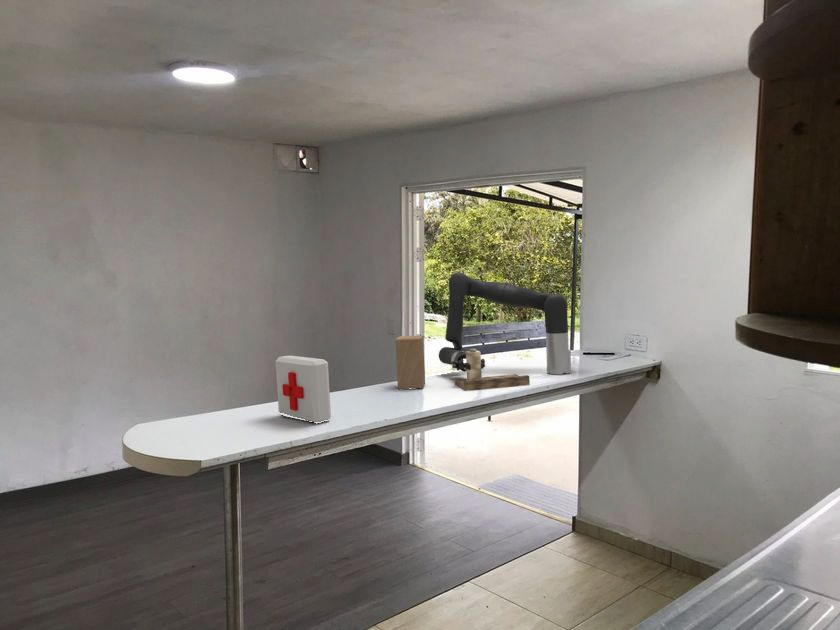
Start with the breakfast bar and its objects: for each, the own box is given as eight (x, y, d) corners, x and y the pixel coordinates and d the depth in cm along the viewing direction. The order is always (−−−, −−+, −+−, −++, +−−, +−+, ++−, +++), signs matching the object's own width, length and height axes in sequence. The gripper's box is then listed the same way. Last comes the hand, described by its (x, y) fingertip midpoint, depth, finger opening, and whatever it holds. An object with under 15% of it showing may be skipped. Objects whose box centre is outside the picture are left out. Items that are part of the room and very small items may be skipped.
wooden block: (425, 384, 266) (423, 335, 265) (423, 389, 256) (420, 338, 255) (400, 385, 267) (398, 336, 266) (397, 389, 257) (395, 339, 256)
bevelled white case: (274, 417, 219) (270, 357, 217) (294, 412, 225) (291, 354, 223) (312, 426, 204) (308, 362, 203) (333, 421, 210) (329, 359, 208)
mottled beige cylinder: (478, 380, 257) (476, 347, 256) (481, 382, 253) (480, 349, 252) (467, 381, 256) (465, 348, 255) (470, 383, 252) (469, 350, 251)
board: (516, 379, 269) (515, 370, 268) (529, 384, 255) (529, 375, 255) (454, 384, 263) (454, 375, 262) (465, 390, 249) (465, 381, 249)
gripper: (445, 353, 266) (457, 358, 250) (478, 350, 269) (493, 355, 253) (446, 371, 267) (458, 378, 250) (479, 368, 270) (494, 374, 253)
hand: (476, 366), depth 252 cm, fingers closed on mottled beige cylinder, 4 cm apart
